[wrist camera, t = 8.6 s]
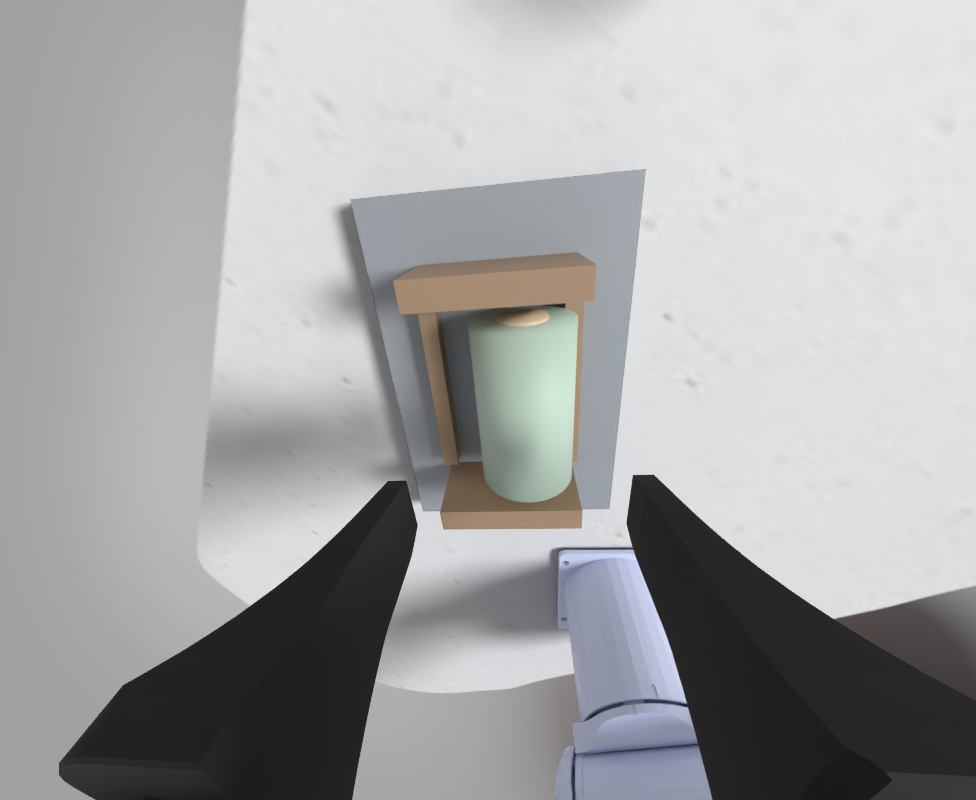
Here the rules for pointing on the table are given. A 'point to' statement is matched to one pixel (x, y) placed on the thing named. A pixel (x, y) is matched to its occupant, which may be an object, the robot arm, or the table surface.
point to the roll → (525, 398)
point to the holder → (491, 285)
